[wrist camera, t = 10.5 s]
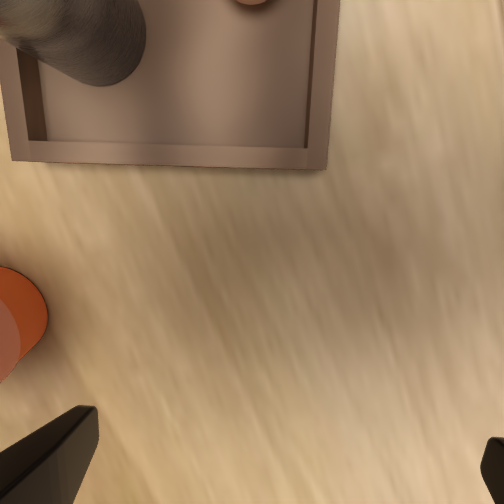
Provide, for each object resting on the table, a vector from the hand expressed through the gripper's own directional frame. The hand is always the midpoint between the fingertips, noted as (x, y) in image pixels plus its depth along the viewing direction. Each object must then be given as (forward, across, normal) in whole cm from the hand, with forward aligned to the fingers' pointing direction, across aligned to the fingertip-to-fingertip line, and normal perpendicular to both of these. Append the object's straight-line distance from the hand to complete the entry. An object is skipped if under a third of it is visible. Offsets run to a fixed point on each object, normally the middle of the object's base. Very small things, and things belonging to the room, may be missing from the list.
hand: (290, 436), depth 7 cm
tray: (+13, +6, -13) cm, 19 cm away
